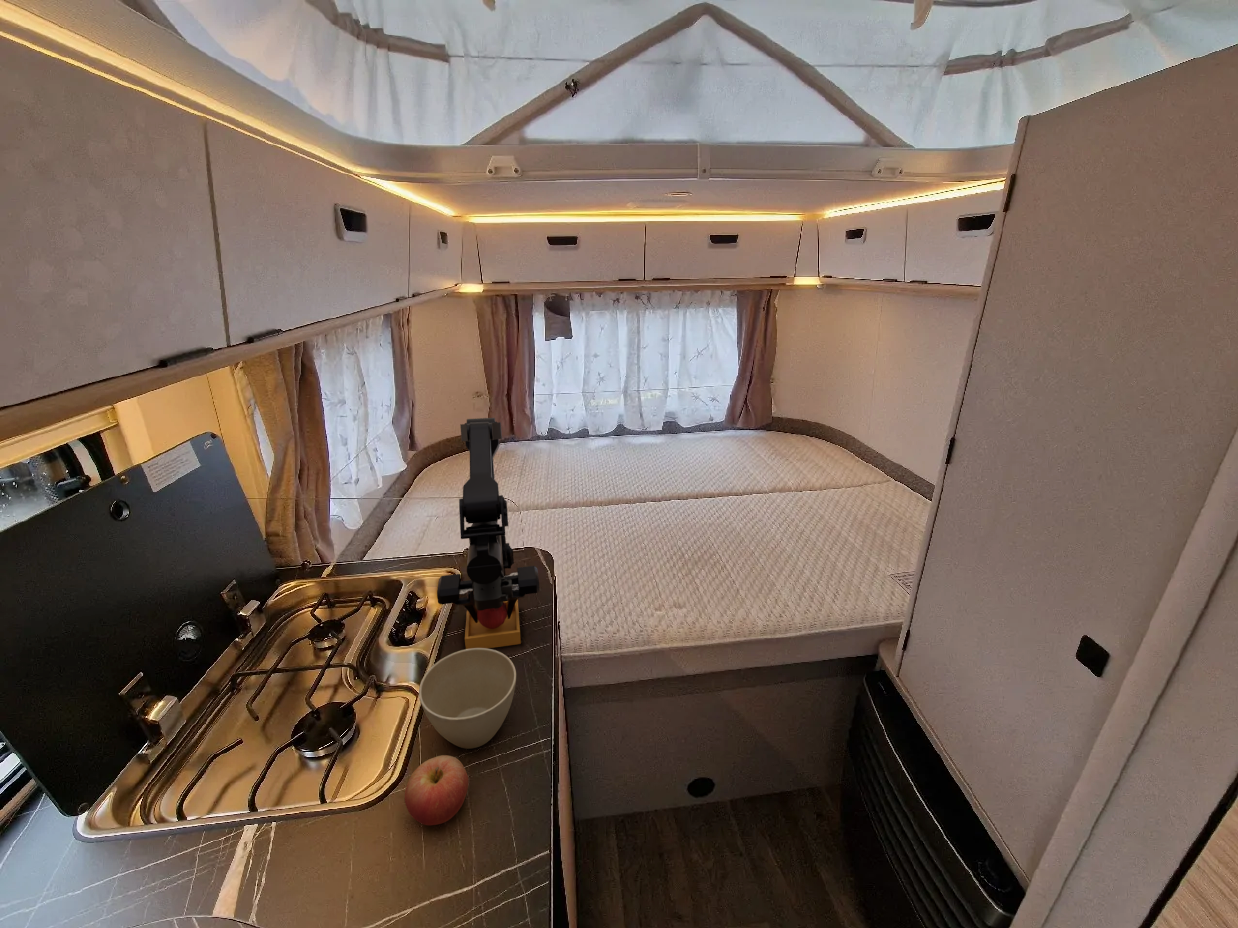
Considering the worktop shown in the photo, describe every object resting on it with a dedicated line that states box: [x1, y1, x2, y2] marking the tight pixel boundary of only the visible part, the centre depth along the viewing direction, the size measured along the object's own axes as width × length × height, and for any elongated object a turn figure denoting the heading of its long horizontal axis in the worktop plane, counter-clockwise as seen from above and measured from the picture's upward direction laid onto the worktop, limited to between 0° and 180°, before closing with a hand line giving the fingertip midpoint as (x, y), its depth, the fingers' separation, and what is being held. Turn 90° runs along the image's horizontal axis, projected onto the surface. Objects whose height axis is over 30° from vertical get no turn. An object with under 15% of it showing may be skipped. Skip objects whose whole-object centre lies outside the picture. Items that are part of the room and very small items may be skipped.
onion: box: [477, 602, 507, 629], centre depth 102 cm, size 6×6×8 cm
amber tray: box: [464, 599, 522, 649], centre depth 103 cm, size 10×10×3 cm
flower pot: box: [418, 648, 517, 750], centre depth 80 cm, size 14×14×10 cm
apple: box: [404, 754, 470, 826], centre depth 69 cm, size 8×8×8 cm
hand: (492, 619), depth 103 cm, fingers closed on onion, 6 cm apart
